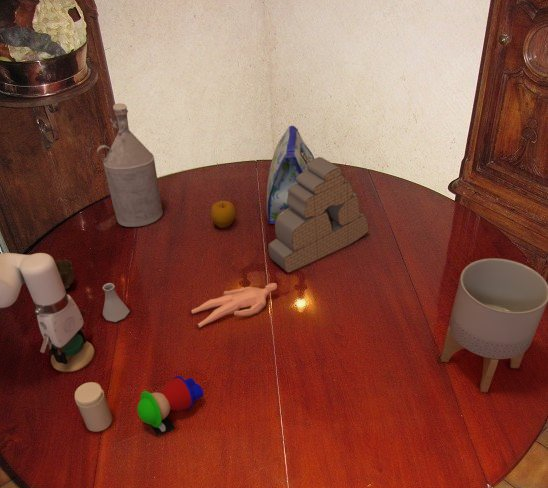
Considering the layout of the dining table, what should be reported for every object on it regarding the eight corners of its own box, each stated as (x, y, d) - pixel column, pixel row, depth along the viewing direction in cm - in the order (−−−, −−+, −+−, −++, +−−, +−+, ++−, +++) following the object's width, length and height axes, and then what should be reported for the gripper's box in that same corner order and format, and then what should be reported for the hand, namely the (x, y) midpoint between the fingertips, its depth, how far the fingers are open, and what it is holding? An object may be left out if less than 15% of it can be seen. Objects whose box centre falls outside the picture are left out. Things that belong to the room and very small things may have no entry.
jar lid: (86, 335, 147) (84, 330, 146) (82, 355, 141) (80, 350, 140) (58, 338, 146) (56, 333, 145) (53, 358, 141) (51, 353, 140)
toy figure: (186, 393, 139) (131, 419, 130) (184, 363, 134) (127, 387, 126) (206, 413, 133) (150, 441, 125) (206, 382, 128) (147, 409, 120)
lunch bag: (315, 226, 188) (317, 155, 171) (265, 226, 189) (262, 155, 171) (314, 191, 205) (316, 123, 187) (269, 191, 205) (266, 124, 188)
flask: (115, 326, 154) (106, 298, 148) (98, 315, 158) (89, 288, 151) (134, 311, 159) (127, 284, 152) (117, 301, 162) (110, 274, 155)
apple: (227, 235, 185) (225, 213, 179) (206, 228, 189) (203, 206, 183) (241, 222, 191) (239, 200, 185) (220, 216, 194) (218, 194, 188)
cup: (49, 295, 165) (41, 274, 159) (57, 279, 170) (50, 258, 165) (74, 295, 164) (67, 274, 159) (82, 279, 170) (75, 258, 165)
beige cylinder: (83, 433, 128) (71, 404, 121) (87, 411, 133) (75, 383, 126) (111, 430, 129) (100, 401, 122) (113, 408, 133) (103, 379, 126)
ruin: (347, 219, 189) (346, 138, 168) (368, 233, 183) (370, 151, 162) (266, 262, 177) (255, 181, 156) (286, 279, 171) (276, 197, 150)
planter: (443, 388, 135) (465, 309, 118) (437, 333, 149) (456, 255, 132) (524, 395, 133) (559, 316, 116) (511, 339, 147) (540, 260, 129)
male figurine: (187, 300, 156) (268, 270, 162) (190, 312, 160) (270, 283, 166) (198, 324, 149) (283, 292, 155) (202, 337, 152) (285, 305, 158)
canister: (110, 215, 196) (82, 104, 170) (158, 202, 202) (137, 93, 175) (119, 233, 188) (91, 120, 161) (168, 219, 193) (149, 108, 167)
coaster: (47, 374, 142) (47, 373, 141) (55, 343, 150) (54, 342, 150) (92, 369, 143) (91, 368, 142) (96, 339, 151) (96, 337, 150)
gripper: (39, 328, 126) (62, 379, 138) (86, 282, 138) (103, 333, 150) (13, 320, 129) (38, 371, 140) (62, 275, 140) (80, 326, 152)
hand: (71, 351), depth 145 cm, fingers closed on jar lid, 7 cm apart
